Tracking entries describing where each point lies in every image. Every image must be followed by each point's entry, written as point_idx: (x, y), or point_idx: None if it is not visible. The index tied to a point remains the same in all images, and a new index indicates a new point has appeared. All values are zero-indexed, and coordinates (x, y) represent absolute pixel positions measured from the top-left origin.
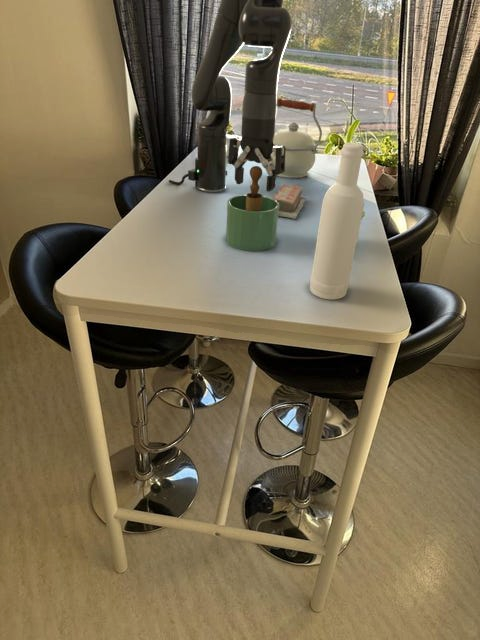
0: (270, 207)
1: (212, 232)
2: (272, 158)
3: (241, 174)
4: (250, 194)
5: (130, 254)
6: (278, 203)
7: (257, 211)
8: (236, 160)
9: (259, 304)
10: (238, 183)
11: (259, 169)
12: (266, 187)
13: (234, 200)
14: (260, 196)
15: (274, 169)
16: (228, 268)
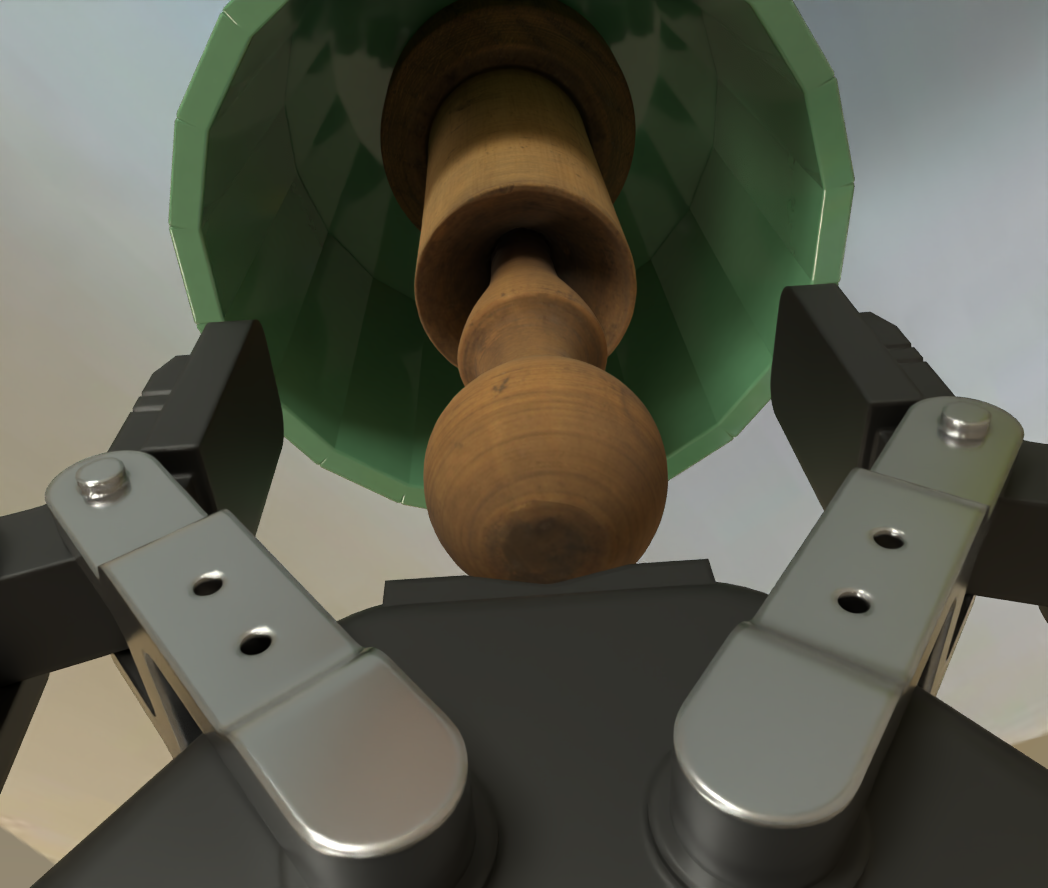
0: None
1: (134, 207)
2: (964, 568)
3: (244, 448)
4: (438, 263)
5: (123, 741)
6: (795, 19)
7: (704, 435)
8: (46, 625)
9: (953, 694)
10: (282, 437)
11: (642, 543)
12: (788, 434)
13: (215, 240)
14: (589, 228)
15: (1011, 567)
16: (643, 555)
